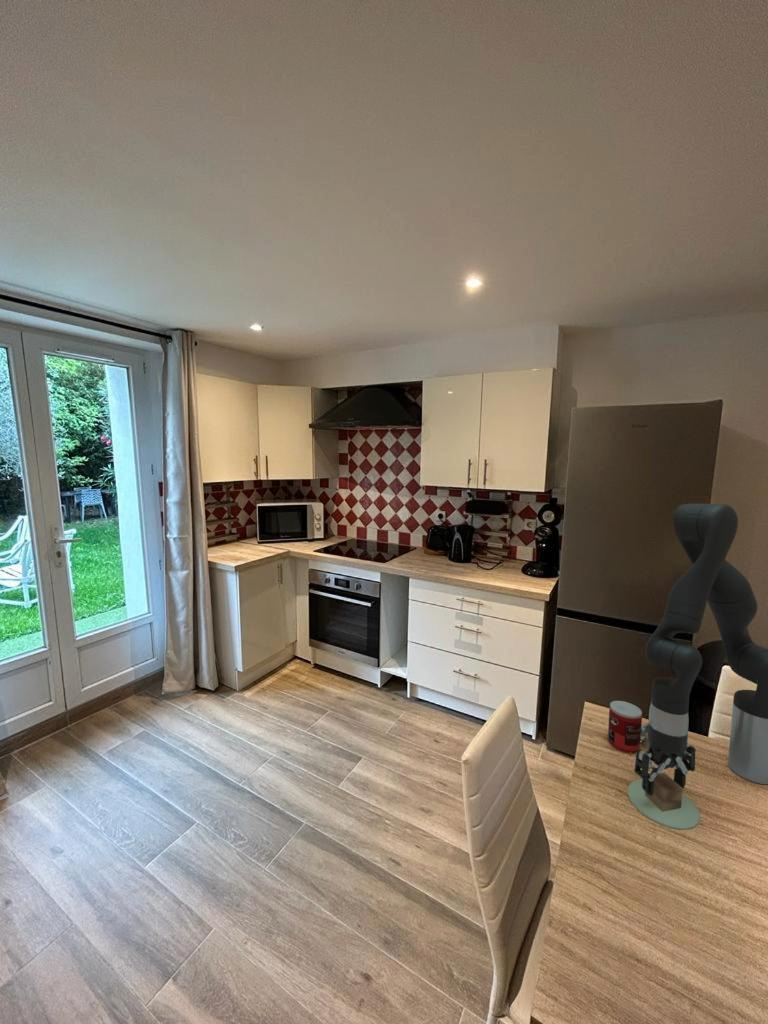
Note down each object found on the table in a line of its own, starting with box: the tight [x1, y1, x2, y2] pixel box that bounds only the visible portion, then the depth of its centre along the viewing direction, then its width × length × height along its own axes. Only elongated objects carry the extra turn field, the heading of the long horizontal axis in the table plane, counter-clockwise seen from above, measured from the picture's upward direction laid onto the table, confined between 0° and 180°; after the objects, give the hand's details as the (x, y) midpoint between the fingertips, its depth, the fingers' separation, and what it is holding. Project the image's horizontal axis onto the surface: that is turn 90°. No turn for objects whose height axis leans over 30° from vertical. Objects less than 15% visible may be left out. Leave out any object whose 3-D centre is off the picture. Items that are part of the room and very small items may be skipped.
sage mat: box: [627, 778, 701, 831], centre depth 98 cm, size 14×14×1 cm
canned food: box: [607, 700, 643, 754], centre depth 118 cm, size 8×8×11 cm
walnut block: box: [645, 772, 684, 812], centre depth 98 cm, size 5×5×5 cm
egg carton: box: [640, 722, 650, 750], centre depth 120 cm, size 11×8×4 cm
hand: (663, 789), depth 97 cm, fingers open, 8 cm apart
